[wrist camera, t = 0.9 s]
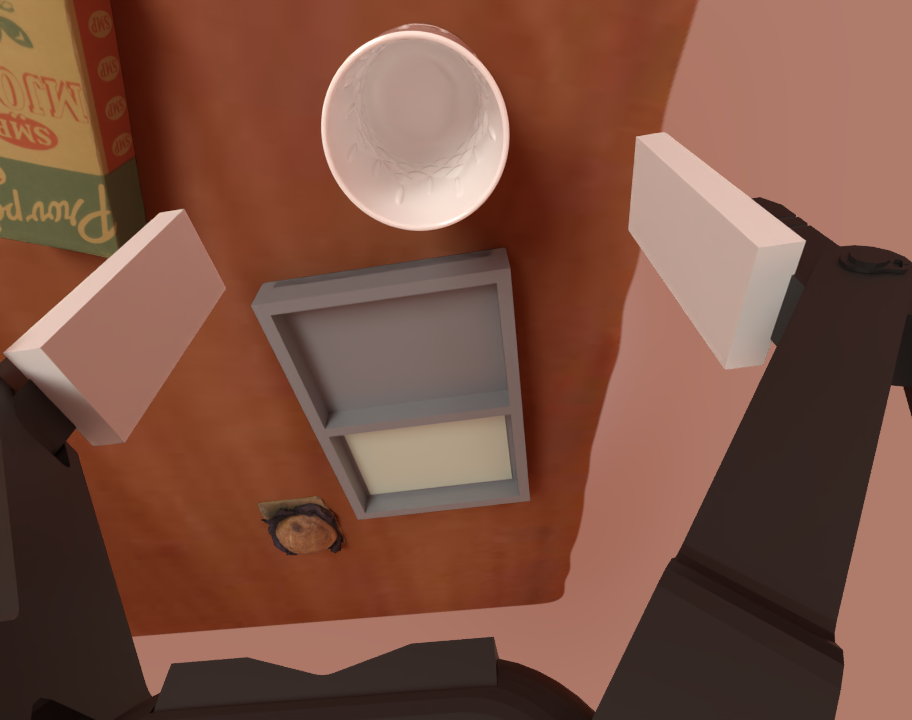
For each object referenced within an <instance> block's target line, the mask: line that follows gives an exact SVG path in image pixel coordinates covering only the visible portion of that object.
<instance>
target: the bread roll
mask: <svg viewBox="0 0 912 720" xmlns="http://www.w3.org/2000/svg"><path fill="white" fill-rule="evenodd" d="M258 508H259V510H260V511H261V513H262V515H263V516H264V517H265V519H266V520H265V519H262V521H264V522H265V523H268V524H269V525H270V526H269V528H268V531H269V534H270V535H271V536H272V539H273V542H274V545H275V546H276V547H277V548H278V549H280V550H281V551H283V552H286V553H287V555H297V554H311V553H316V552H320V551H323V550H325V549H331V552H334V553H336V552H338V551H341V545H345V544H346V540H345V538H344V535H343V532H342V529H341V528H340V526H339V524H338V522H337V518H336V517H335V515H334V513H333V512H332V511H330V510H329V508H328V507H327V506H326V505H325V503H324V502H323V500H322V499H321V498H320V497H309V498H299V499H290V500H281V501H273V502H264V503H259V504H258Z"/></svg>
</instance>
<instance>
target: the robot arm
mask: <svg viewBox="0 0 912 720" xmlns="http://www.w3.org/2000/svg"><path fill="white" fill-rule="evenodd" d="M628 230H629V232H630V233H631V235H632V236H633V238H634V239H635V240H636V242H637V243H638V245H639V246H640V248H641V249H642V251H643V252H644V253H645V255H646V256H647V258H648V259H649V261H650V262H651V264H652V265H653V266H654V268H655V269H656V271H657V272H658V274H659V275H660V277H661V278H662V280H663V281H664V282H665V284H666V285H667V287H668V288H669V290H670V291H671V293H672V294H673V296H674V297H675V298H676V300H677V301H678V303H679V304H680V306H681V307H682V308H683V310H684V311H685V313H686V314H687V316H688V317H689V319H690V320H691V321H692V323H693V324H694V326H695V327H696V329H697V330H698V332H699V333H700V335H701V336H702V338H703V339H704V340H705V342H706V343H707V345H708V346H709V348H710V349H711V351H712V352H713V353H714V355H715V356H716V358H717V359H718V361H719V362H720V364H721V365H722V366H723V368H724V369H725V370H726V369H734V368H743V367H751V366H759V365H764V362H765V359H766V356H767V353H768V350H769V347H770V345H771V342H772V341H773V343H774V344H775V345H776V346H777V347H776V349H775V352H774V354H773V356H772V358H771V360H770V362H769V364H768V366H767V368H766V371H765V373H764V375H763V377H762V379H761V381H760V383H759V385H758V387H757V389H756V391H755V393H754V396H753V398H752V400H751V402H750V404H749V406H748V408H747V410H746V413H745V414H744V417H743V419H742V421H741V423H740V425H739V427H738V429H737V431H736V433H735V435H734V438H733V440H732V442H731V444H730V446H729V448H728V450H727V452H726V454H725V456H724V459H723V461H722V463H721V465H720V467H719V469H718V471H717V473H716V476H715V477H714V480H713V482H712V484H711V486H710V488H709V490H708V492H707V494H706V496H705V498H704V500H703V503H702V505H701V507H700V509H699V511H698V513H697V516H696V517H695V519H694V521H693V524H692V526H691V528H690V530H689V532H688V534H687V536H686V538H685V541H684V542H683V544H682V547H681V548H680V550H679V552H678V554H677V556H676V557H675V558H672V559H671V561H670V562H669V564H668V565H667V567H666V569H665V571H664V573H663V575H662V577H661V579H660V580H659V582H658V584H657V587H656V589H655V591H654V593H653V595H652V597H651V599H650V601H649V603H648V605H647V607H646V609H645V611H644V613H643V615H642V617H641V620H640V622H639V624H638V626H637V628H636V630H635V632H634V634H633V636H632V638H631V640H630V642H629V644H628V646H627V648H626V650H625V653H624V655H623V657H622V659H621V661H620V663H619V665H618V667H617V669H616V671H615V673H614V675H613V677H612V679H611V681H610V683H609V686H608V687H607V690H606V692H605V694H604V696H603V698H602V700H601V702H600V704H599V706H598V708H597V710H596V712H595V711H594V710H592V709H591V708H590V707H589V706H588V705H587V704H586V703H585V702H584V701H583V700H582V699H580V698H579V697H578V696H577V695H576V694H574V693H573V692H571V691H570V690H569V689H567V688H566V687H565V686H563V685H562V684H560V683H559V682H557V681H556V680H554V679H552V678H550V677H548V676H546V675H544V674H543V673H541V672H539V671H537V670H534V669H531V668H529V667H526V666H524V665H521V664H519V663H515V662H510V661H506V660H502V659H499V657H498V653H497V649H496V645H495V640H494V637H486V638H474V639H462V640H450V641H438V642H426V643H415V644H409V645H407V646H404V647H402V648H399V649H396V650H394V651H391V652H388V653H386V654H383V655H380V656H378V657H375V658H372V659H370V660H367V661H364V662H362V663H359V664H356V665H354V666H351V667H348V668H346V669H343V670H340V671H338V672H335V673H332V674H329V675H316V674H311V673H307V672H304V671H300V670H295V669H291V668H287V667H284V666H280V665H275V664H271V663H268V662H264V661H259V660H255V659H251V658H247V657H246V658H234V659H223V660H211V661H199V662H187V663H174V664H171V666H170V669H169V671H168V674H167V677H166V679H165V682H164V685H163V687H162V690H161V692H160V693H159V694H157V695H155V696H153V697H152V696H151V695H150V693H149V691H148V688H147V686H146V683H145V680H144V677H143V673H142V670H141V666H140V663H139V660H138V656H137V653H136V650H135V646H134V643H133V639H132V636H131V632H130V629H129V626H128V622H127V619H126V616H125V612H124V609H123V605H122V602H121V599H120V595H119V592H118V589H117V585H116V582H115V578H114V575H113V572H112V568H111V565H110V562H109V558H108V555H107V551H106V548H105V545H104V541H103V538H102V535H101V531H100V528H99V524H98V521H97V518H96V514H95V511H94V508H93V504H92V501H91V497H90V494H89V491H88V487H87V484H86V481H85V477H84V474H83V470H82V467H81V464H80V460H79V457H78V454H77V452H76V451H75V450H74V449H73V448H72V447H71V446H70V445H69V444H68V443H67V442H66V440H67V439H68V438H69V436H70V435H71V434H72V433H73V431H74V430H75V429H77V430H78V431H79V432H80V433H81V434H82V435H83V436H84V437H85V438H86V440H87V441H88V442H89V443H90V444H91V445H92V446H101V445H109V444H117V443H125V441H126V440H127V438H128V437H129V435H130V434H131V432H132V431H133V429H134V428H135V426H136V425H137V423H138V422H139V420H140V419H141V417H142V416H143V414H144V413H145V411H146V410H147V408H148V406H149V405H150V403H151V402H152V400H153V399H154V397H155V396H156V394H157V393H158V391H159V390H160V388H161V387H162V385H163V384H164V382H165V381H166V379H167V378H168V376H169V375H170V373H171V372H172V370H173V368H174V367H175V365H176V364H177V362H178V361H179V359H180V358H181V356H182V355H183V353H184V352H185V350H186V349H187V347H188V346H189V344H190V343H191V341H192V340H193V338H194V337H195V335H196V333H197V332H198V330H199V329H200V327H201V326H202V324H203V323H204V321H205V320H206V318H207V317H208V315H209V314H210V312H211V311H212V309H213V308H214V306H215V305H216V303H217V302H218V300H219V298H220V297H221V295H222V294H223V292H224V291H225V289H226V287H225V285H224V284H223V282H222V280H221V278H220V276H219V274H218V272H217V270H216V268H215V266H214V264H213V263H212V261H211V259H210V257H209V255H208V253H207V251H206V249H205V247H204V245H203V244H202V242H201V240H200V238H199V236H198V234H197V232H196V230H195V228H194V226H193V225H192V223H191V221H190V219H189V217H188V215H187V213H186V211H185V209H180V210H173V211H167V212H161V213H159V214H158V215H157V216H156V217H154V218H153V219H152V220H151V221H150V222H149V223H148V224H147V225H145V226H144V227H143V228H142V229H141V230H140V231H139V232H138V233H137V234H135V235H134V236H133V237H132V238H131V239H130V240H129V241H128V242H126V243H125V244H124V245H123V246H122V247H121V248H120V249H119V250H118V251H116V252H115V253H114V254H113V255H112V256H111V257H110V258H109V259H107V260H106V261H105V262H104V263H103V264H102V265H101V266H100V267H99V268H97V269H96V270H95V271H94V272H93V273H92V274H91V275H90V276H88V277H87V278H86V279H85V280H84V281H83V282H82V283H81V284H80V285H78V286H77V287H76V288H75V289H74V290H73V291H72V292H71V293H70V294H68V295H67V296H66V297H65V298H64V299H63V300H62V301H61V302H59V303H58V304H57V305H56V306H55V307H54V308H53V309H52V310H51V311H49V312H48V313H47V314H46V315H45V316H44V317H43V318H42V319H40V320H39V321H38V322H37V323H36V324H35V325H34V326H33V327H32V328H30V329H29V330H28V331H27V332H26V333H25V334H24V335H23V336H21V337H20V338H19V339H18V340H17V341H16V342H15V343H14V344H13V345H11V346H10V347H9V348H8V349H7V350H6V351H5V352H4V353H3V354H4V355H5V356H6V358H5V359H4V360H3V361H2V362H1V363H0V720H835V715H836V710H837V705H838V700H839V695H840V690H841V683H842V676H843V669H844V660H843V659H844V658H843V650H842V649H841V648H840V647H839V646H838V645H837V644H836V643H835V635H834V634H835V628H836V622H837V617H838V613H839V608H840V604H841V600H842V596H843V591H844V587H845V583H846V578H847V574H848V570H849V565H850V561H851V556H852V552H853V547H854V543H855V539H856V534H857V530H858V526H859V522H860V517H861V513H862V509H863V504H864V500H865V495H866V491H867V487H868V482H869V478H870V474H871V469H872V465H873V461H874V456H875V452H876V448H877V443H878V439H879V435H880V430H881V426H882V421H883V417H884V413H885V408H886V404H887V399H888V395H889V391H890V387H891V385H894V386H903V387H904V391H905V394H906V398H907V402H908V405H909V409H910V412H911V416H912V262H911V261H909V260H908V259H907V258H906V257H904V256H901V255H899V254H897V253H894V252H892V251H889V250H885V249H880V248H876V247H869V246H856V245H853V246H838V245H837V244H836V243H834V242H833V241H831V240H830V239H829V238H827V237H826V236H824V235H823V234H822V233H820V232H819V231H817V230H816V229H815V228H813V227H812V226H807V223H806V222H805V221H803V220H802V219H801V218H799V217H796V215H795V214H794V213H792V212H791V211H789V210H788V209H787V208H785V207H784V206H783V205H781V204H778V203H775V202H772V201H769V200H766V199H763V198H761V197H758V198H752V199H751V198H750V197H748V196H747V195H746V194H744V193H743V192H742V191H741V190H739V189H738V188H737V187H735V186H734V185H733V184H731V183H730V182H729V181H728V180H726V179H725V178H723V177H722V176H721V175H720V174H718V173H717V172H716V171H714V170H713V169H712V168H711V167H709V166H708V165H707V164H706V163H704V162H703V161H702V160H700V159H699V158H698V157H696V156H695V155H694V154H692V153H691V152H690V151H689V150H687V149H686V148H685V147H684V146H682V145H681V144H680V143H678V142H677V141H676V140H674V139H673V138H672V137H670V136H669V135H668V134H666V133H665V132H662V133H656V134H650V135H644V136H637V137H636V147H635V158H634V170H633V182H632V193H631V205H630V216H629V228H628Z"/></svg>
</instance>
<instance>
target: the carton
mask: <svg viewBox="0 0 912 720" xmlns="http://www.w3.org/2000/svg"><path fill="white" fill-rule="evenodd" d="M145 225H147V222H146V217H145V210H144V205H143V200H142V194H141V189H140V183H139V177H138V170H137V165H136V159H135V151H134V145H133V139H132V133H131V126H130V120H129V114H128V108H127V102H126V95H125V90H124V82H123V78H122V70H121V65H120V58H119V52H118V46H117V41H116V34H115V28H114V23H113V16H112V9H111V3H110V0H0V238H5V239H11V240H16V241H22V242H27V243H32V244H38V245H43V246H49V247H55V248H60V249H65V250H71V251H76V252H81V253H87V254H92V255H97V256H101V257H105V258H110V257H111V256H112V255H113V254H114V253H115V252H116V251H118V250H119V249H120V248H121V247H122V246H123V245H124V244H125V243H126V242H128V241H129V240H130V239H131V238H132V237H133V236H134V235H135V234H137V233H138V232H139V231H140V230H141V229H142V228H143V227H144V226H145Z"/></svg>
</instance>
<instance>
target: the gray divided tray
mask: <svg viewBox="0 0 912 720" xmlns="http://www.w3.org/2000/svg"><path fill="white" fill-rule="evenodd" d="M251 307H252V309H253V311H254V313H255V315H256V317H257V319H258V321H259V323H260V325H261V327H262V329H263V331H264V333H265V335H266V337H267V339H268V341H269V342H270V344H271V346H272V348H273V350H274V352H275V354H276V356H277V358H278V360H279V362H280V364H281V366H282V368H283V370H284V372H285V374H286V376H287V378H288V380H289V382H290V384H291V386H292V388H293V390H294V392H295V394H296V396H297V398H298V400H299V402H300V404H301V406H302V408H303V410H304V412H305V414H306V416H307V418H308V420H309V422H310V424H311V426H312V428H313V430H314V432H315V434H316V436H317V438H318V440H319V442H320V444H321V446H322V448H323V450H324V452H325V454H326V456H327V458H328V460H329V462H330V464H331V466H332V468H333V470H334V472H335V474H336V476H337V478H338V480H339V482H340V484H341V486H342V488H343V490H344V492H345V494H346V496H347V498H348V500H349V502H350V504H351V506H352V508H353V510H354V512H355V514H356V516H357V518H358V520H360V519H369V518H378V517H387V516H397V515H406V514H415V513H424V512H433V511H442V510H451V509H460V508H469V507H478V506H487V505H496V504H506V503H515V502H524V501H530V494H529V482H528V470H527V459H526V447H525V435H524V423H523V411H522V400H521V388H520V376H519V364H518V352H517V341H516V329H515V317H514V305H513V294H512V282H511V270H510V264H509V260H508V256H507V252H506V248H505V247H504V248H498V249H491V250H484V251H477V252H471V253H464V254H457V255H450V256H444V257H437V258H430V259H423V260H417V261H410V262H403V263H396V264H390V265H383V266H376V267H369V268H363V269H356V270H349V271H342V272H336V273H329V274H322V275H315V276H309V277H302V278H295V279H288V280H282V281H275V282H268V283H263V284H262V286H261V288H260V290H259V292H258V294H257V295H256V297H255V299H254V301H253V303H252V305H251Z"/></svg>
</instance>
